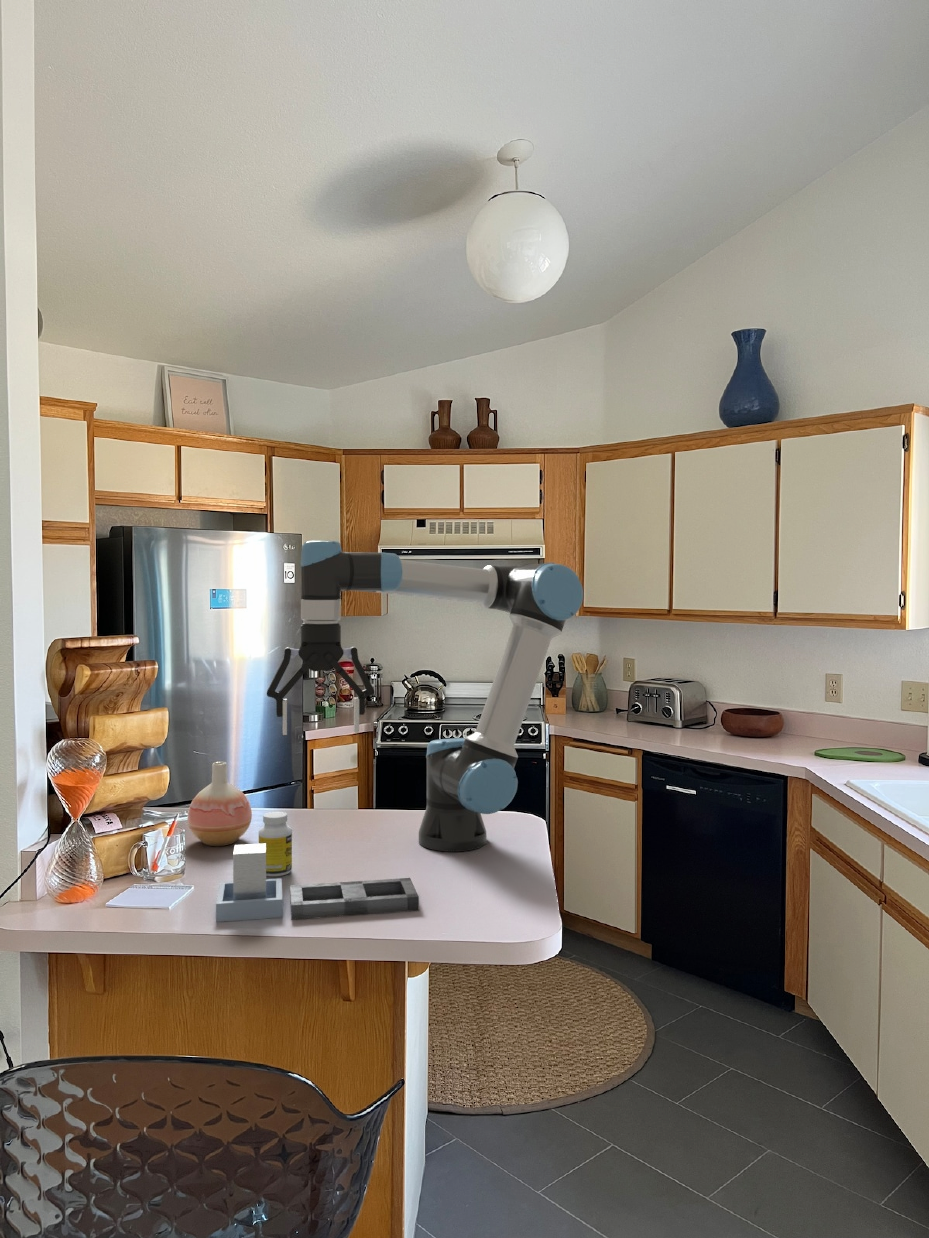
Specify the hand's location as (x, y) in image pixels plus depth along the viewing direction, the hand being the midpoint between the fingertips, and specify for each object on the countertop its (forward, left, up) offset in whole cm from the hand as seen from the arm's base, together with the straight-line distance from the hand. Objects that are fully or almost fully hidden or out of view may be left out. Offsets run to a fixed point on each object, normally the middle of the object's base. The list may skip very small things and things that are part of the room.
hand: (320, 732), depth 170 cm
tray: (+13, +12, -29) cm, 34 cm away
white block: (+13, +12, -28) cm, 33 cm away
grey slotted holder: (-5, +14, -29) cm, 32 cm away
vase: (+20, -29, -29) cm, 46 cm away
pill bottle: (+9, -6, -29) cm, 31 cm away
